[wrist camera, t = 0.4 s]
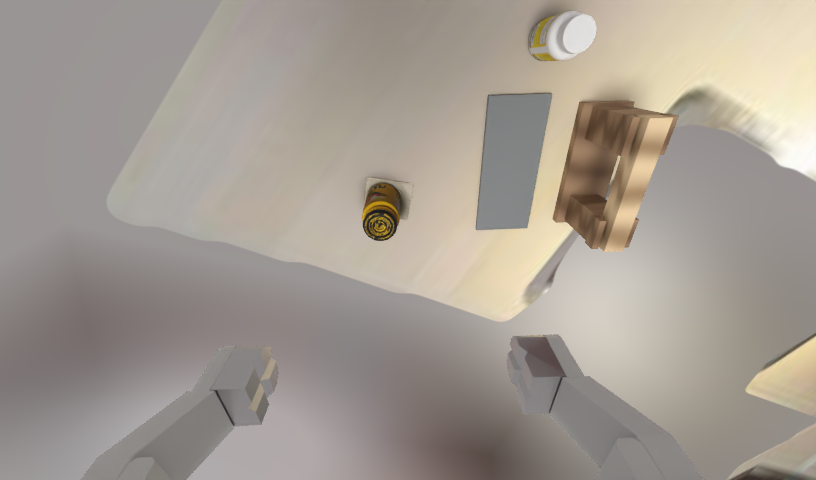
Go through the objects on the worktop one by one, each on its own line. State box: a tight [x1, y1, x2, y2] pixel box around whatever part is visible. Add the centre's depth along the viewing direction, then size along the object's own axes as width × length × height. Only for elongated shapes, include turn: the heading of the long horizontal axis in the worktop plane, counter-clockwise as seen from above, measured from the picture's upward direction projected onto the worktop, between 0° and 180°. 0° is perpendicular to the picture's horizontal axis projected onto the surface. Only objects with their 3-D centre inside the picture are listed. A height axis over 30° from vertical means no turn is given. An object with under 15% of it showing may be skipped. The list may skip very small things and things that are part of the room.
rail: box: [599, 114, 673, 252], centre depth 46 cm, size 20×3×3 cm, turn 2°
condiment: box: [362, 177, 413, 241], centre depth 53 cm, size 7×8×12 cm
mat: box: [476, 93, 552, 230], centre depth 55 cm, size 24×10×1 cm, turn 2°
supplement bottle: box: [529, 11, 596, 61], centre depth 42 cm, size 5×5×10 cm
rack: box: [553, 101, 679, 249], centre depth 50 cm, size 21×8×12 cm, turn 2°
